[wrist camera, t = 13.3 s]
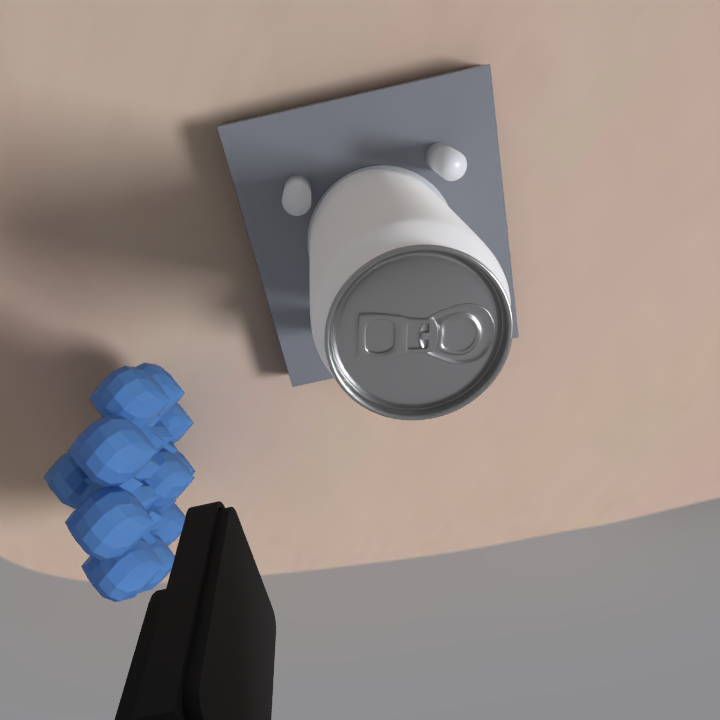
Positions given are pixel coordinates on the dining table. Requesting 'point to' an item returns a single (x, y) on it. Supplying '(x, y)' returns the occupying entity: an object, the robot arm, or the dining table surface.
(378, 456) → the dining table surface
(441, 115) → the pin tray
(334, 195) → the can
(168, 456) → the grapes
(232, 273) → the dining table surface
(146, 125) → the dining table surface
